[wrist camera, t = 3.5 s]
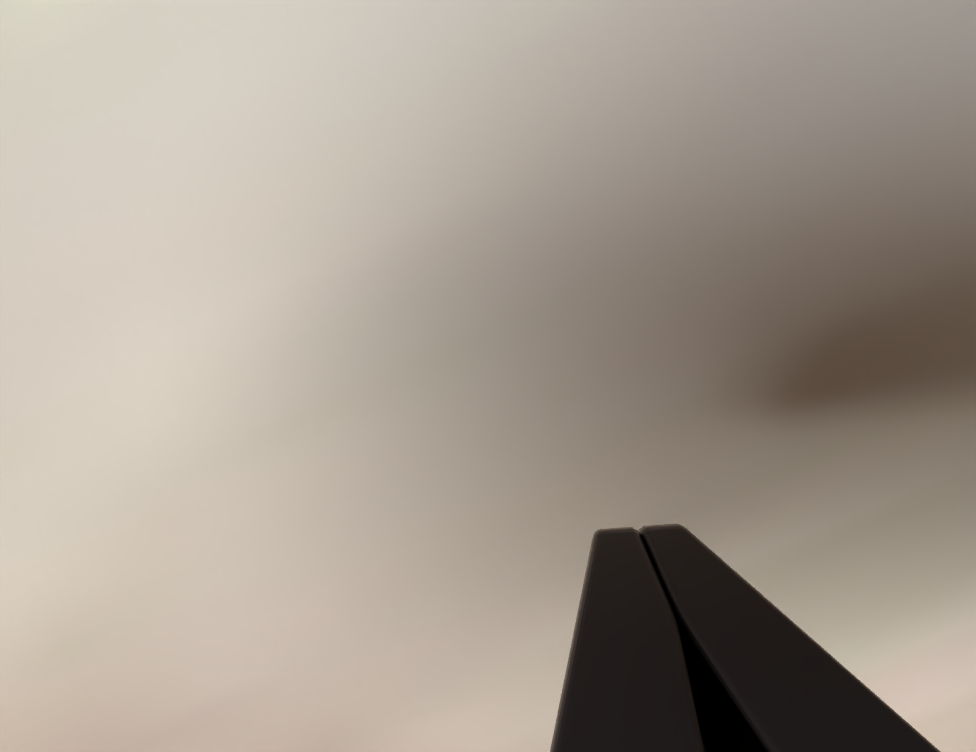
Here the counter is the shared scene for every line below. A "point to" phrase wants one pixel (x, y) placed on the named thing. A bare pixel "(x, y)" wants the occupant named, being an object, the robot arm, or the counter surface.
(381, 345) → the counter surface
